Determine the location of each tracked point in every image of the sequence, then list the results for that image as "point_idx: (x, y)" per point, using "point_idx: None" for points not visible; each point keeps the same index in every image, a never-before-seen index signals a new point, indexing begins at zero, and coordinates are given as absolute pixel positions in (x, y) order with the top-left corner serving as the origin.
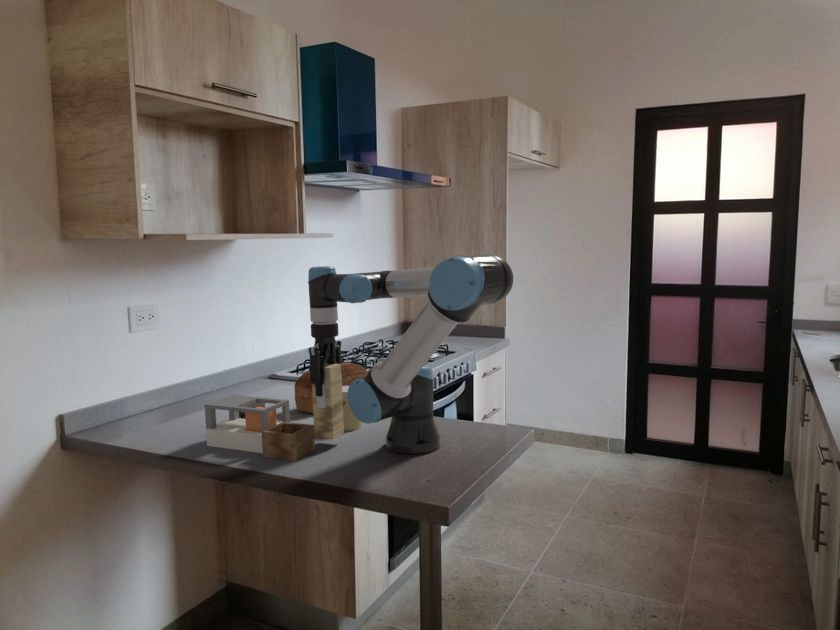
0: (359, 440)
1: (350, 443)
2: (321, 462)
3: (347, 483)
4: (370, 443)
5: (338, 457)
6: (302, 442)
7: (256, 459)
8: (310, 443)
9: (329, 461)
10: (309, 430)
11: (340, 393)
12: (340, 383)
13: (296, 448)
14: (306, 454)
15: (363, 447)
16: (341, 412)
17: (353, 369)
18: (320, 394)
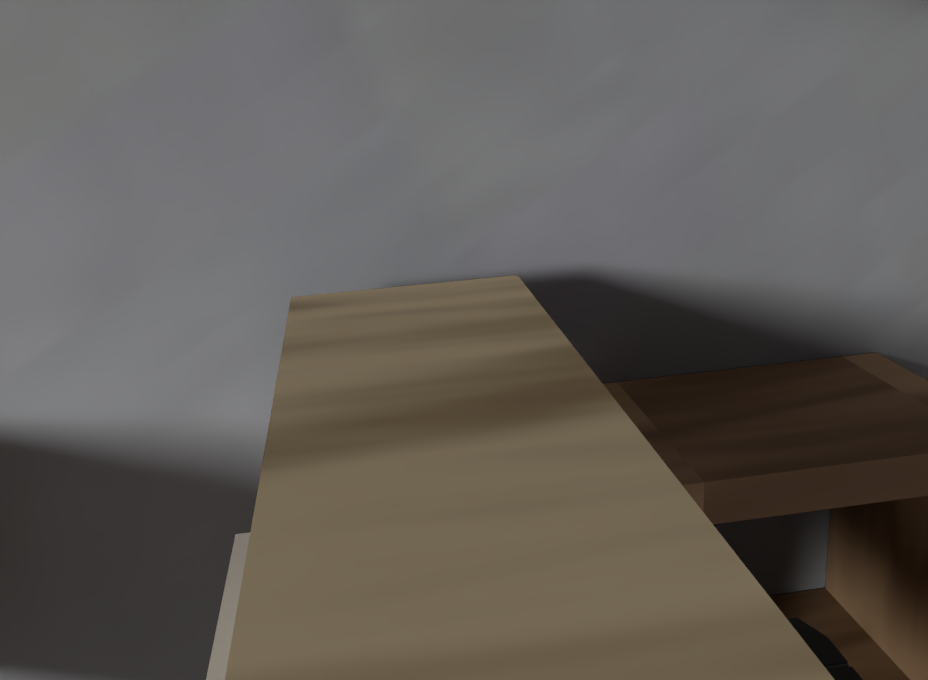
0: (158, 177)
1: (285, 206)
2: (837, 137)
3: None
4: (184, 8)
5: (680, 72)
6: (820, 411)
7: None
8: (673, 406)
9: (796, 86)
10: (733, 461)
11: (328, 522)
12: (304, 658)
13: (898, 391)
14: (709, 372)
15: (332, 7)
16: (325, 379)
17: None
18: (828, 642)
